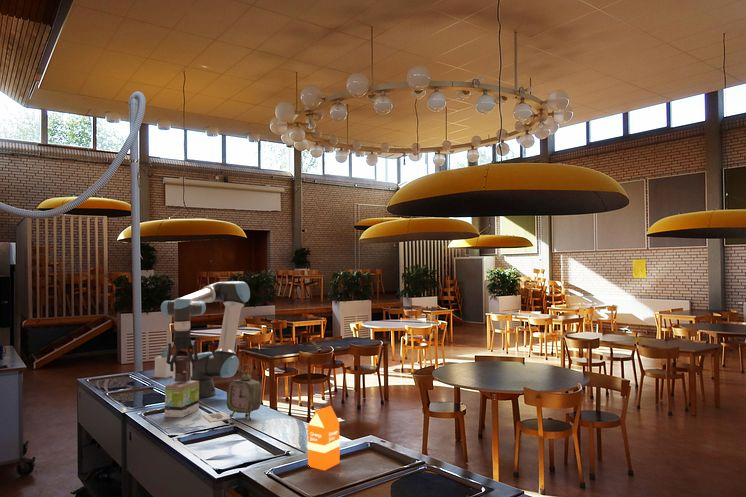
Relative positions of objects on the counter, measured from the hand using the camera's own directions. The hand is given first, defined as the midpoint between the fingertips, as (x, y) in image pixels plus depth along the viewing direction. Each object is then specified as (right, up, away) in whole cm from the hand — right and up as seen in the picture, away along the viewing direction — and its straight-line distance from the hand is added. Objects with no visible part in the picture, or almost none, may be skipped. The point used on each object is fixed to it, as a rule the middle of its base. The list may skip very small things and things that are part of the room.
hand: (182, 376), depth 268 cm
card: (+19, -17, -8) cm, 27 cm away
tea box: (0, -18, -1) cm, 18 cm away
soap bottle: (-43, -21, +90) cm, 102 cm away
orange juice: (+75, -15, -71) cm, 105 cm away
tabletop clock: (+33, -17, -11) cm, 38 cm away
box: (0, -2, 0) cm, 2 cm away
